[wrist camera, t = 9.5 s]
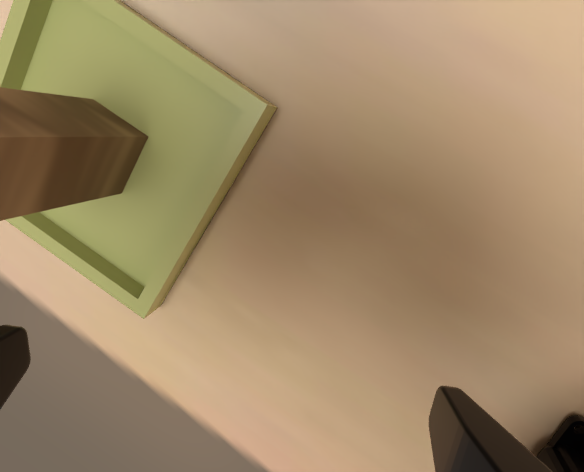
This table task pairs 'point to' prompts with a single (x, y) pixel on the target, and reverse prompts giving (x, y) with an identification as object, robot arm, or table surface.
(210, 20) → the table surface
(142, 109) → the olive tray
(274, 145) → the table surface
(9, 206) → the walnut stick
